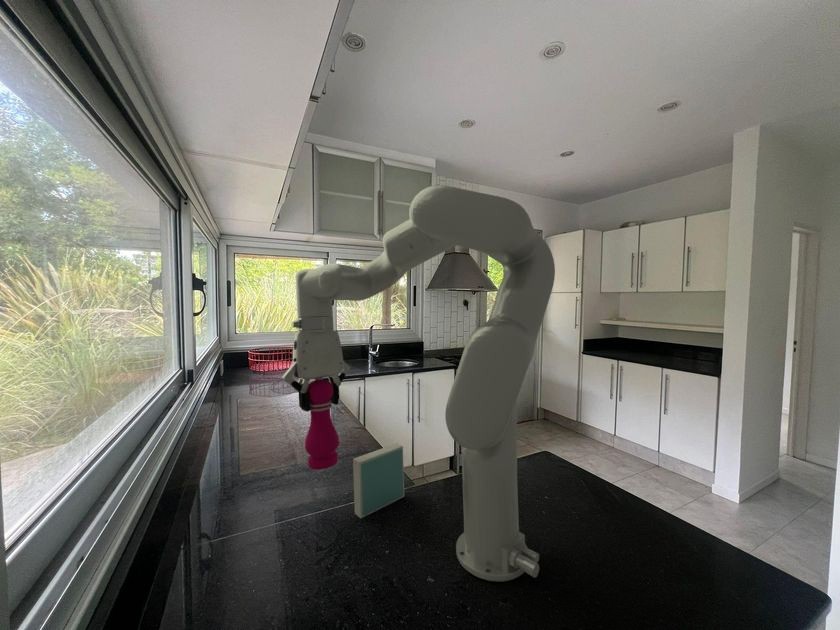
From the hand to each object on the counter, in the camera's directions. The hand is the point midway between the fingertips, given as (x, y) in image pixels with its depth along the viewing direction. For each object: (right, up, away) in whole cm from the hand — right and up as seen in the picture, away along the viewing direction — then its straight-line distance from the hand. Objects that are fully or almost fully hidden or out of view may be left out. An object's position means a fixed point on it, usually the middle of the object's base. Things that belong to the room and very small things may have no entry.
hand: (320, 406), depth 73 cm
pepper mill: (+1, -13, 0) cm, 13 cm away
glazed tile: (+13, -23, +2) cm, 27 cm away
